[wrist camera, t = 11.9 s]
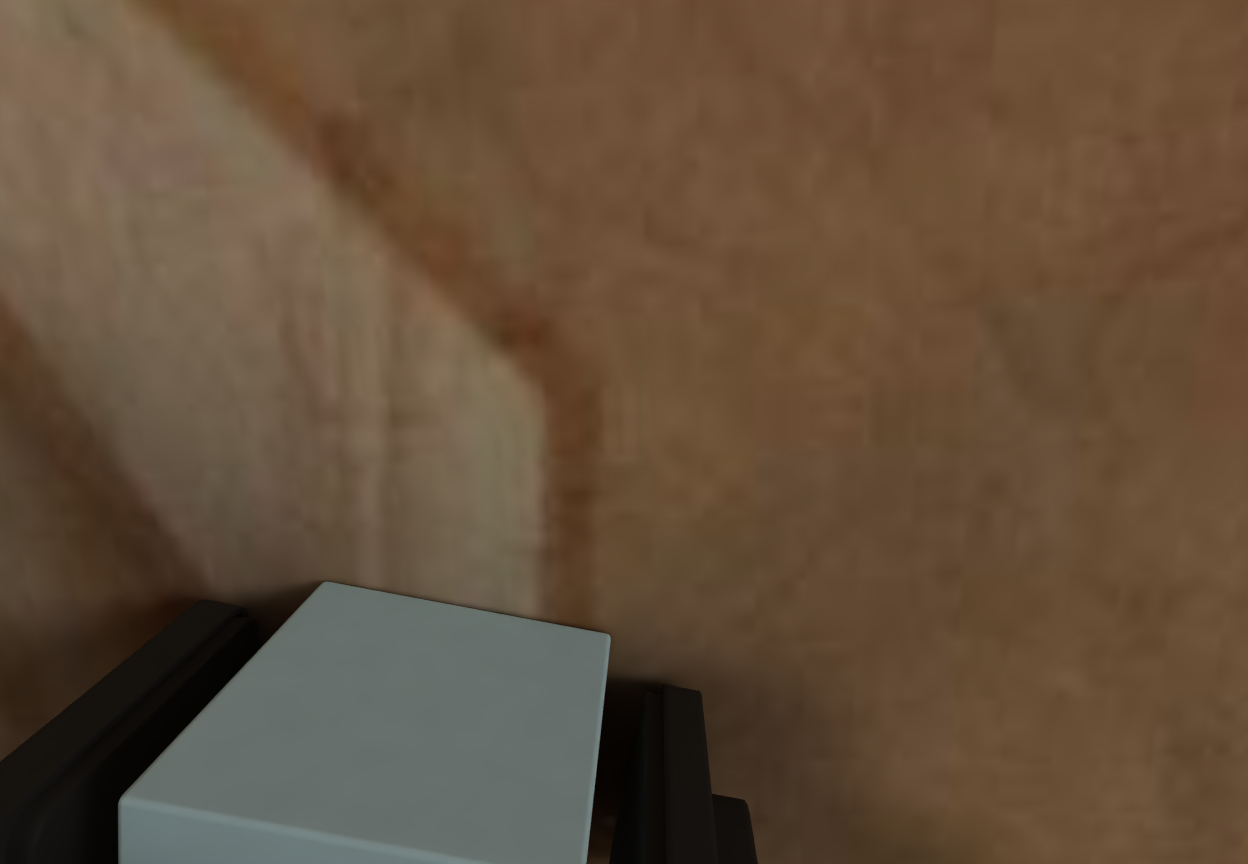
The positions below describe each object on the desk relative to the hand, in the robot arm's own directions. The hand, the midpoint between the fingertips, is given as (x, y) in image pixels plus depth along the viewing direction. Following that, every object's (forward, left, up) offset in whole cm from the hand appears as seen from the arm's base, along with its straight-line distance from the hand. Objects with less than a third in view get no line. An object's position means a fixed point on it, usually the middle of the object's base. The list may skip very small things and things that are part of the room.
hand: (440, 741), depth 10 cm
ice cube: (0, 0, 0) cm, 0 cm away
